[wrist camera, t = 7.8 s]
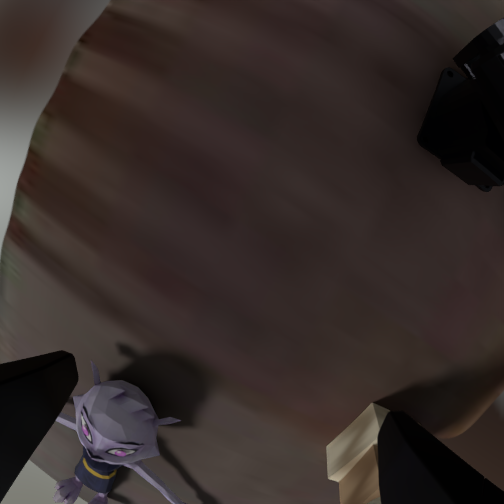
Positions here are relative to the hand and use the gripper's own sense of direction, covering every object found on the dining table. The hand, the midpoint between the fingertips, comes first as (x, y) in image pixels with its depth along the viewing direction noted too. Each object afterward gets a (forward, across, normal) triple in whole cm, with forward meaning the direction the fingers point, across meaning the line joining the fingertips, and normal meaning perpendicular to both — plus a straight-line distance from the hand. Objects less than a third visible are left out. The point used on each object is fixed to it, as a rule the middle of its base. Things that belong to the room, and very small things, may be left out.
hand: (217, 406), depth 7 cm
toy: (+14, +15, +23) cm, 31 cm away
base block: (+13, -11, +14) cm, 22 cm away
